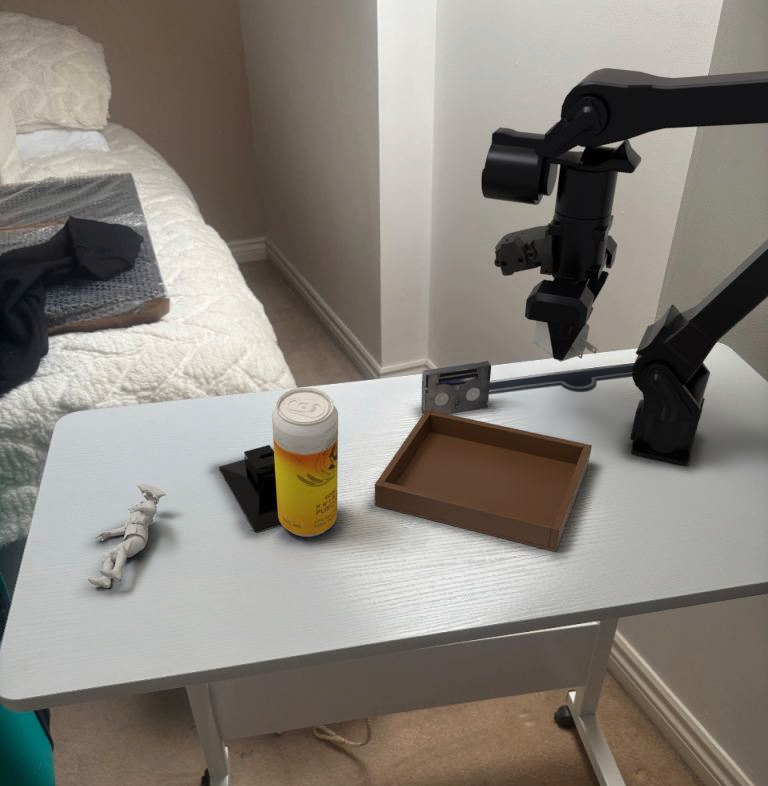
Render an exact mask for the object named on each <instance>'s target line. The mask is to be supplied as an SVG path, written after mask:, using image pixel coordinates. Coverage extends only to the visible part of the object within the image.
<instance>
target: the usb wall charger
mask: <svg viewBox="0 0 768 786" xmlns="http://www.w3.org/2000/svg"><path fill="white" fill-rule="evenodd" d="M589 332H590V325H589V324H588V322H587V323H586V325H585V326H584V327H583V329H582V330H581V332H580V333H579V335H578V337H577V338H576V340H575V341H574V343H573V345H572V346H571V348H570V350H569V351H568V353H567V354H566V356H565V358H564V359H563V360H557V361H558V362H560V363H561V362H565V361H567V360H570V359H573V358H577V357H578V358H580V359H583V356H584V352H585V350H588V351H589V352H591V353H593V354H597V351H598V348H597V347H596V346H595V345H593V344H592V343H591V342H589V341H588V336H589V334H590V333H589ZM532 340H533V342H532V343H533V344H535V345H536V346H537V347H539V349H542V350H543V351H544V352H546V353H547V354H548V355H550V356H551V357H553V353H552V347H551V341H550V335H549V330H548V325H547V322H540V321H535V329H534V334H533V339H532Z"/></svg>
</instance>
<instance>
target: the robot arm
mask: <svg viewBox="0 0 768 786" xmlns="http://www.w3.org/2000/svg"><path fill="white" fill-rule="evenodd" d="M757 124H768V70H762V71H748V72H746V71H745V72H736V73H735V72H734V73H733V72H732V73H721V74H709V75H708V74H707V75H698V76H695V75H694V76H684V77H683V76H682V77H668V76H667V77H666V76H659V75H655V74H651V73H648V72H643V71H640V70H639V71H638V70H630V69H629V70H628V69H622V68H621V69H619V68H611V67H604V68H600V69H596V70H594V71H592V72H590V73H589V74H588V75H586V76H585V77H584V78H583V79H582V80H580V81H579V82H578V83H577V84H576V85H575V86H574V87H572V88H571V90H570V91H569V92H568V94H566V96H565V98H564V100H563V103H562V104H561V109H560V119H559V121H557V122H555V123H554V124H553V125H552V126H551V127H550V128H549V129H548V130H547V131H546V132H545V133H535V132H526V131H519V130H516V129H513V128H510V127H498V128H497V129H496V130H494V131H493V132H492V133H491V142H490V143H491V144H490V146H489V149H488V151H487V154H486V158H485V161H484V167H483V168H482V170H481V177H480V179H481V180H480V181H481V184H480V185H481V193H482V196H483V197H484V198H485V199H490V200H495V201H496V200H497V201H505V202H512V203H519V204H524V205H533V206H534V205H535V206H538V205H540V203H541V202H542V200H543V197H550V196H552V194H553V191H554V188H555V186H556V183H557V187H556V196H555V204H554V211H553V216H552V219H551V221H550V222H548V223H547V224H546V225H538V226H534V227H529V228H525V229H521V230H515V231H512V232H509V233H507V234H505V235H503V236H502V237H501V239H500V240H499V241H498V242H497V244H496V245H495V247H494V249H495V251H494V254H495V258H494V261H493V264H494V266H495V267H497V268H500V271H501V274H502V275H501V276H504V277H507V276H508V277H509V276H513V275H514V274H515V273H519V272H525V271H528V270H529V271H530V270H534V269H537V268H540V269H539V274H540V275H546V276H551V277H552V278H553V280H550V279H542V280H541V281H540V282H538V283H537V284H536V285H534V287H532V289H531V291H530V292H529V294H528V296H527V298H526V300H525V310H524V318H526V319H527V320H529V321H535V322H536V321H540V322H547V325H548V330H549V335H550V341H551V347H552V353H553V356H552V358H553V359H554V360H555V361H558V360H563V359H564V358H565V356H566V354H567V353H568V351H569V350H570V348H571V346H572V345H573V343H574V341H575V340H576V338H577V337H578V335H579V333H580V332H581V330H582V329H583V327H584V326H585V325H586V323H587V324H588V321H589V319H590V317H591V315H592V313H593V311H594V307H593V304H594V303H595V301H596V300H597V298H598V297H599V294H601V293H600V292H601V291H602V289H603V287H604V286H605V284H606V281H607V280H608V277H609V274H610V273H609V271H606V270H604V268H605V269H612V267H613V265H614V263H615V261H616V255H617V251H618V250H617V249H618V243H617V242H616V240H614V238H613V236H611V235H610V234H609V232H610V230H611V228H612V227H613V223H614V215H613V213H612V212H613V207H614V200H615V194H616V188H617V182H618V177H619V173H624V174H633V173H634V172H635V171H636V169H637V168H638V166H639V165H640V164H641V162H642V157H641V156H640V154H638V152H637V151H636V150H635V149H634V148H633V146H632V145H631V142H630V139H634V138H636V137H639V136H643V135H645V134H648V133H651V132H657V131H660V130H665V129H682V128H683V129H684V128H700V127H701V128H702V127H703V128H704V127H723V126H738V125H739V126H740V125H741V126H742V125H757ZM619 142H621V143H620V144H619V145H617V146H615V147H614V146H613V147H612V146H606V145H610V144H615V143H619ZM577 147H581V148H584V149H583V151H582V150H581V151H575V150H574V151H573V149H574V148H577ZM558 169H559V171H558ZM557 176H558V177H557ZM557 178H558V179H557ZM766 299H768V238H767V239H765V241H764V242H763V243H762V244H760V246H758V247H757V248H756V249H755V250H754V251H753V252H751V254H750V255H749V256H748V257H747V258H745V260H744V261H742V262H741V263H740V264H739V265H737V267H736V268H735V269H734V270H733V271H732V272H730V274H729V275H728V276H726V277H725V279H723V280H722V281H721V282H720V283H718V285H717V286H716V287H715V288H713V290H711V291H710V292H709V293H708V294H707V295H706V296H705V297H704V298H703V299H702V300H701V301H700V302H699V303H697V304H696V305H695V306H692V307H690V308H688V309H687V310H686V309H685V310H684V311H682V312H681V311H680V310H679V309H678V307H676V305H674V304H671V305H669V307H668V308H667V310H666V311H665V312H664V314H663V315H662V316H661V318H660V319H658V320H657V321H656V322H654V323H652V324H650V325H647V327H646V328H645V332H644V334H643V336H642V337H641V340H640V343H639V345H638V347H637V349H636V351H635V355H636V358H635V360H634V363H633V365H632V367H631V378H632V381H633V383H634V386H635V387H636V388H637V389H638V390H639V391H640V392H641V393H642V398H643V399H640V400H638V403H637V406H636V408H635V412H634V413H635V414H634V418H633V423H632V427H631V432H630V436H629V440H630V441H632V445H631V448H630V453H631V454H632V455H636V456H639V457H646V458H649V459H655V460H658V461H659V460H660V461H664V462H669V463H673V464H678V465H683V466H688V465H689V464H690V461H691V458H692V452H693V449H694V448H693V447H694V444H695V440H696V434H697V431H698V427H699V423H700V420H701V416H702V413H703V409H704V404H705V397H704V395H705V392H706V389H707V386H708V382H709V379H710V376H711V371H710V370H709V369H708V367H707V366H706V365H705V363H704V362H705V360H706V359H707V357H708V356H709V355H710V353H711V352H712V350H713V349H714V347H715V346H716V344H717V343H718V342H719V341H720V340H721V339H722V337H724V336H725V335H726V334H727V333H729V332H730V331H731V330H732V329H733V328H734V327H736V325H738V324H739V323H740V322H741V321H742V320H743V319H745V317H747V316H748V315H749V314H750V313H751V312H753V310H755V309H756V308H758V306H760V304H761V303H762V302H764V301H765V300H766Z"/></svg>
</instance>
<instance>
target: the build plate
mask: <svg viewBox="0 0 768 786" xmlns="http://www.w3.org/2000/svg"><path fill="white" fill-rule="evenodd" d="M243 453H244V457H243V459H241V460H238V461H237V460H236V461H234V462H230V463H227V464H224V465H223V464H222V465H219V466H218V470H219V473H220V474H221V476H222V478H223V480H224V481H225V483H226V485H227V486H228V488H229V490H230V492H231V493H232V496H233V497H234V499H235V500H236V503H237V504H238V506H239V507H240V509H241V511H242V513H243V514H244V517H245V524H246V525H247V527H248V528H249V530H250V531H252V532H254V533H255V534H257V533H260V532H264V531H266V530H270V529H273V528H276V527H280V526H283V525H282V524H281V523H280V521H279V518H278V506H277V490H276V474H275V458H274V448H273V447H272V446H271V445H270V444H267V445H263V446H260V447H256V448H253V449H249V450H245V451H243Z"/></svg>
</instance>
